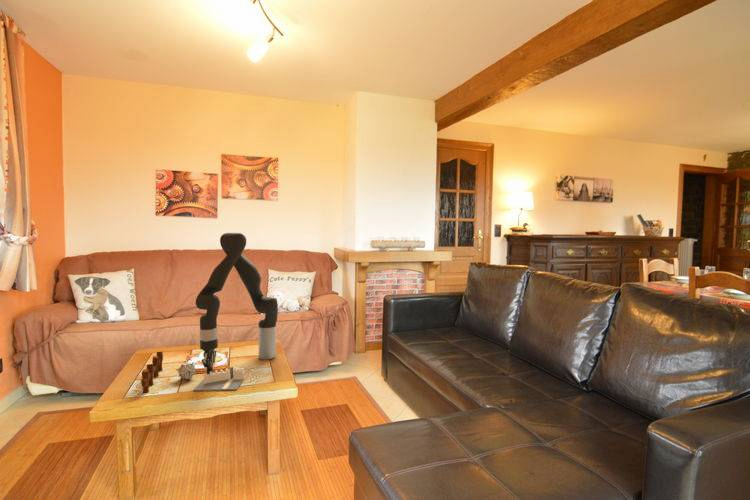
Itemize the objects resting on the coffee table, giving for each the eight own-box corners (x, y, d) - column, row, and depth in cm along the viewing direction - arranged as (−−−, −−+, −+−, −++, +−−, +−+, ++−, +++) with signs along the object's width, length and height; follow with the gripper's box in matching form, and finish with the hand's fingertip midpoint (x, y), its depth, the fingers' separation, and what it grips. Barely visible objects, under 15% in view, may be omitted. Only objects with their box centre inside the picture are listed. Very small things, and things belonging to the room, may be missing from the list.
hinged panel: (233, 377, 183) (232, 366, 183) (233, 378, 182) (233, 367, 182) (203, 382, 176) (203, 371, 176) (204, 383, 175) (204, 372, 175)
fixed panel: (233, 379, 182) (233, 368, 181) (234, 378, 183) (234, 367, 183) (243, 379, 182) (243, 368, 182) (244, 378, 183) (243, 367, 183)
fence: (158, 368, 197) (158, 348, 196) (164, 367, 197) (164, 348, 197) (139, 396, 165) (139, 372, 164) (147, 395, 165) (147, 372, 165)
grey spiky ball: (191, 386, 184) (205, 368, 185) (178, 386, 176) (192, 368, 177) (181, 373, 188) (195, 356, 189) (168, 373, 180) (181, 355, 181)
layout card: (203, 379, 182) (203, 378, 182) (244, 378, 184) (244, 377, 184) (193, 391, 169) (192, 389, 169) (236, 390, 171) (236, 388, 171)
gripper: (205, 333, 184) (206, 369, 186) (194, 342, 171) (195, 380, 172) (221, 333, 185) (222, 369, 186) (212, 342, 172) (213, 380, 173)
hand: (209, 374), depth 179 cm, fingers closed
